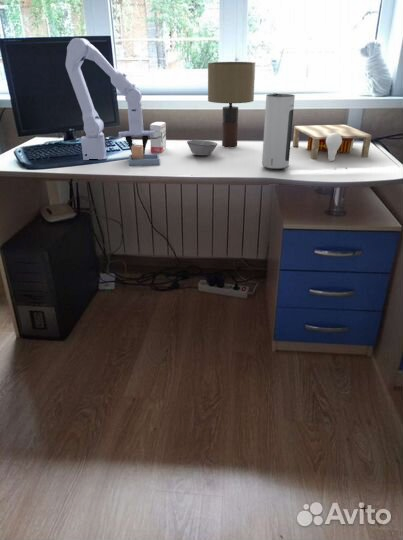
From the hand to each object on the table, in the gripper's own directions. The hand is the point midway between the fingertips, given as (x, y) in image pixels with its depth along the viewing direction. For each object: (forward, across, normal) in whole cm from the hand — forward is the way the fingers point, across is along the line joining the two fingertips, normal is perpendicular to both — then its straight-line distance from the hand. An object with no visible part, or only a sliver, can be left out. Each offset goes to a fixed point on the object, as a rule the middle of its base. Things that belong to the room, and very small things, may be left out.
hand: (138, 154), depth 177 cm
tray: (+1, +2, -8) cm, 9 cm away
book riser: (+1, +83, 0) cm, 83 cm away
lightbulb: (+2, +77, -18) cm, 79 cm away
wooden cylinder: (+1, 0, -8) cm, 9 cm away
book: (+2, +86, +5) cm, 86 cm away
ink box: (+2, +9, +12) cm, 15 cm away
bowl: (+1, +24, -1) cm, 24 cm away
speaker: (+2, +53, -21) cm, 57 cm away
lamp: (+2, +42, +17) cm, 45 cm away
